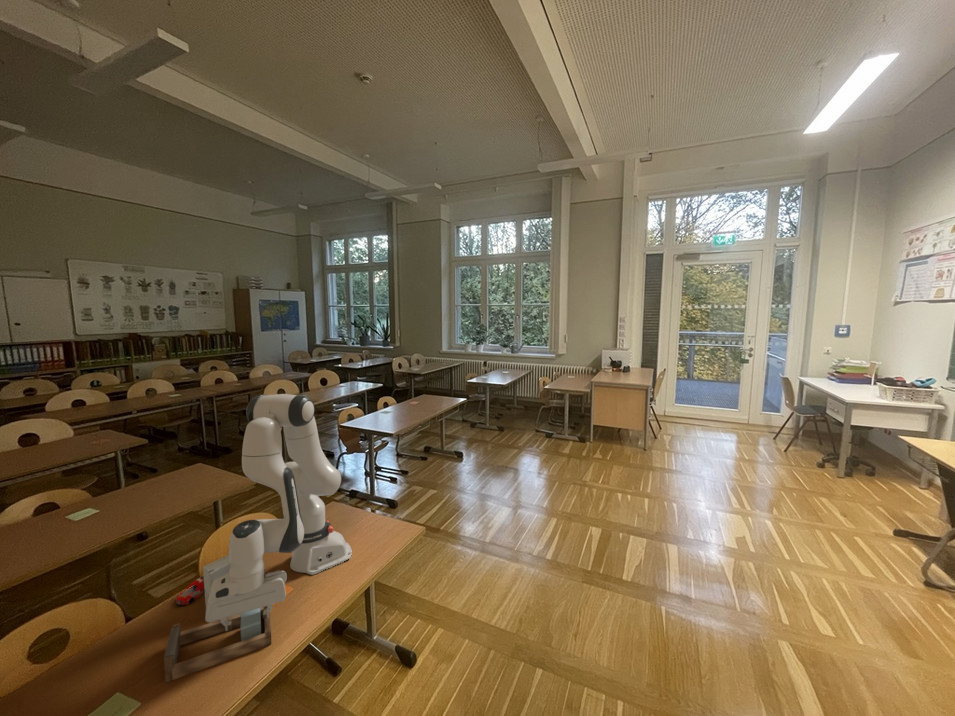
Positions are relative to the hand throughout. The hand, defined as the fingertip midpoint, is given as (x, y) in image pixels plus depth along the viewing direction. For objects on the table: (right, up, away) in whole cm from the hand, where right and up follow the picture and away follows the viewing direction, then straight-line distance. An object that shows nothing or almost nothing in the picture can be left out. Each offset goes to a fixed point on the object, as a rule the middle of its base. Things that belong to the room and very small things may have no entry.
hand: (247, 623), depth 112 cm
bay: (-6, -4, -3) cm, 7 cm away
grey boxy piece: (0, -4, +1) cm, 4 cm away
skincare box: (-16, -3, +12) cm, 20 cm away
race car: (-28, -2, +18) cm, 33 cm away
